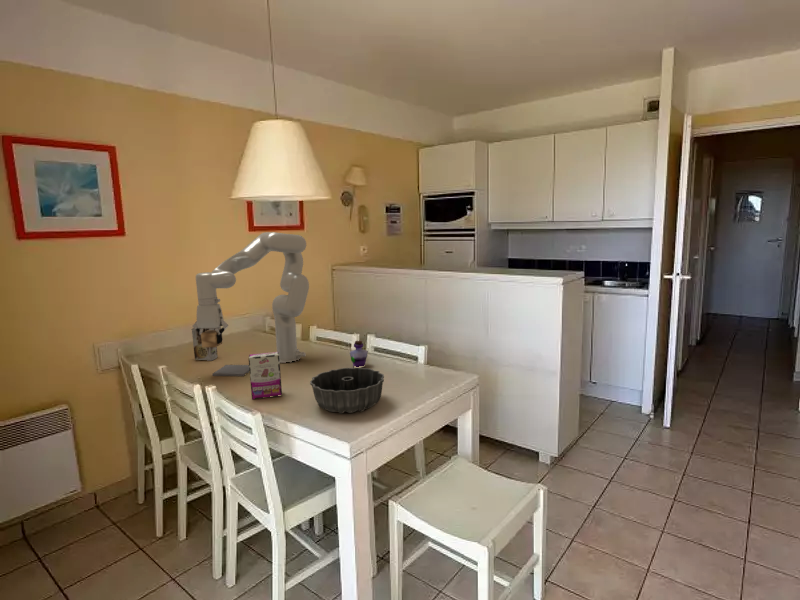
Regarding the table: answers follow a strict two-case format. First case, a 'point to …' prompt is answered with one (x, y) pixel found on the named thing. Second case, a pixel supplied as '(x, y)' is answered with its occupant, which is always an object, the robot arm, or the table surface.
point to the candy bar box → (265, 375)
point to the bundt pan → (347, 389)
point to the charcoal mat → (232, 370)
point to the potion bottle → (358, 354)
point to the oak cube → (209, 338)
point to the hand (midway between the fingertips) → (212, 342)
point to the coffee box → (203, 348)
